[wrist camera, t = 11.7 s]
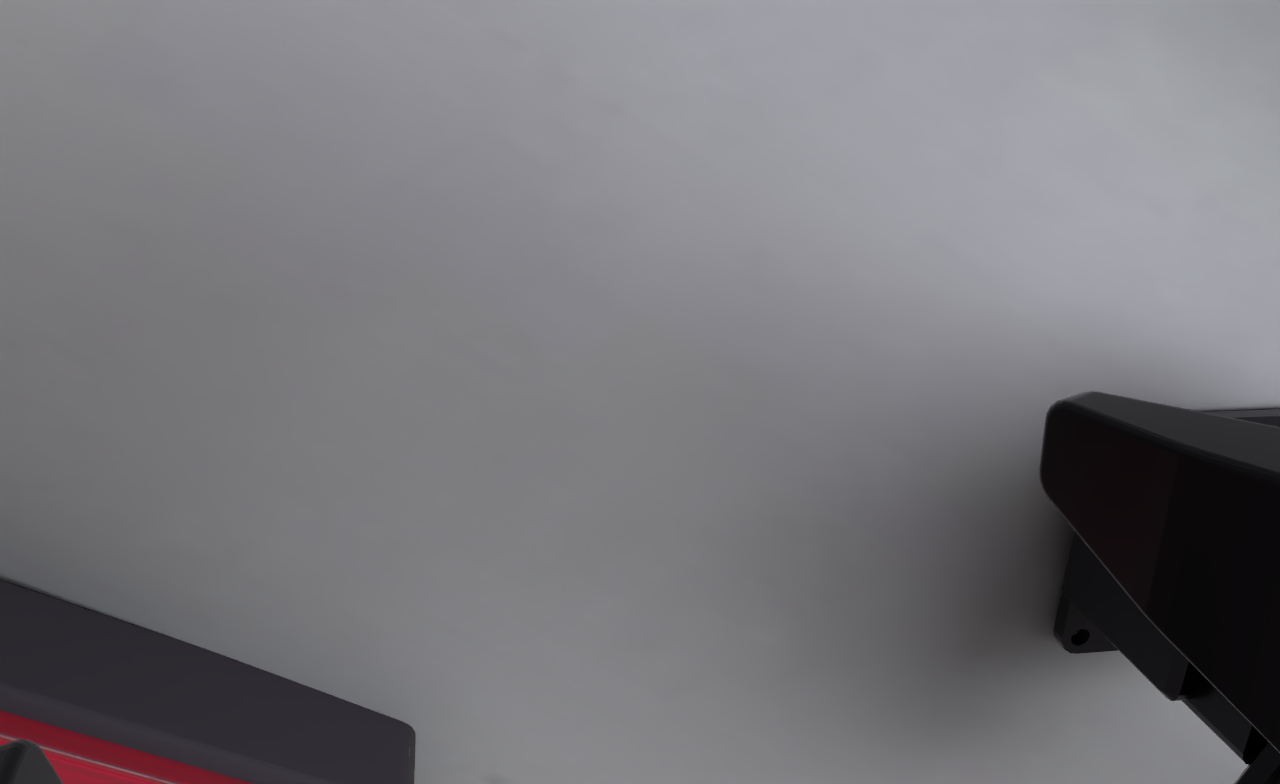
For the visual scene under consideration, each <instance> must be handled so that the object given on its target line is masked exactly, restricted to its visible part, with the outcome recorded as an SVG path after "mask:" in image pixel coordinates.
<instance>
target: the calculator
mask: <svg viewBox="0 0 1280 784" xmlns="http://www.w3.org/2000/svg"><path fill="white" fill-rule="evenodd" d="M20 739H25V740H31V741H33V742H34V743H36V744H37V745H38V746H39V747H40V748H41V749H42V751H43V752H44V754H45V755H46V757H47V758H48V760H49V762H50V763H51V765H52V766H53V768H54V770H55V771H56V773H57V774H58V776H59V777H60V779H61V781H62V782H63V784H414V769H415V732H414V730H413V728H412V727H411V726H409V725H408V724H406V723H404V722H402V721H399V720H397V719H394V718H391V717H388V716H386V715H383V714H380V713H378V712H375V711H372V710H370V709H367V708H364V707H362V706H359V705H356V704H353V703H351V702H348V701H345V700H343V699H340V698H337V697H335V696H332V695H329V694H326V693H324V692H321V691H318V690H316V689H313V688H310V687H308V686H305V685H302V684H299V683H297V682H294V681H291V680H289V679H286V678H283V677H280V676H278V675H275V674H272V673H270V672H267V671H264V670H261V669H259V668H256V667H253V666H251V665H248V664H245V663H242V662H240V661H237V660H234V659H231V658H229V657H226V656H223V655H220V654H217V653H215V652H212V651H209V650H206V649H203V648H200V647H197V646H194V645H192V644H189V643H186V642H183V641H180V640H177V639H174V638H171V637H168V636H165V635H162V634H159V633H156V632H153V631H150V630H147V629H144V628H141V627H138V626H135V625H132V624H129V623H126V622H123V621H120V620H117V619H114V618H111V617H108V616H105V615H102V614H99V613H96V612H93V611H90V610H87V609H84V608H81V607H78V606H75V605H72V604H69V603H66V602H64V601H61V600H58V599H55V598H52V597H49V596H46V595H43V594H40V593H37V592H34V591H31V590H28V589H25V588H22V587H19V586H16V585H13V584H10V583H7V582H4V581H1V580H0V745H3V744H6V743H10V742H13V741H16V740H20Z"/></svg>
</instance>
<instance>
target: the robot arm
mask: <svg viewBox="0 0 1280 784" xmlns="http://www.w3.org/2000/svg"><path fill="white" fill-rule="evenodd" d="M1039 476H1040V482H1041V485H1042V488H1043V490H1044V492H1045V494H1046V495H1047V497H1048V498H1049V499H1050V501H1051V502H1052V503H1053V504H1054V506H1055V507H1056V508H1057V509H1058V510H1059V512H1060V513H1061V514H1062V515H1063V517H1064V518H1065V519H1066V520H1067V522H1068V523H1069V524H1070V525H1071V526H1072V528H1073V529H1074V530H1075V532H1074V536H1073V541H1072V545H1071V550H1070V554H1069V559H1068V563H1067V568H1066V572H1065V577H1064V581H1063V586H1062V594H1061V598H1060V603H1059V607H1058V612H1057V616H1056V621H1055V626H1054V637H1055V639H1056V640H1057V642H1058V643H1059V644H1060V645H1061V646H1062V647H1063V648H1064V649H1065V650H1066V651H1068V652H1070V653H1089V652H1102V651H1115V650H1119V651H1120V652H1121V653H1122V654H1123V655H1124V656H1125V657H1126V658H1127V659H1128V660H1129V661H1130V662H1131V663H1132V664H1133V665H1134V666H1135V667H1136V668H1137V669H1138V670H1139V671H1140V672H1141V673H1142V674H1143V675H1144V676H1145V677H1146V678H1147V679H1148V680H1149V681H1150V682H1151V683H1152V684H1153V685H1154V686H1155V687H1156V688H1157V689H1158V690H1159V691H1160V692H1161V693H1162V694H1163V695H1164V696H1165V697H1166V698H1168V699H1169V700H1171V701H1176V700H1182V701H1183V702H1184V703H1185V704H1186V705H1187V706H1188V707H1189V708H1190V709H1191V710H1192V711H1193V712H1194V713H1195V714H1196V715H1197V716H1198V717H1199V718H1200V719H1201V720H1202V721H1203V722H1204V723H1205V724H1206V725H1207V726H1208V727H1209V728H1210V729H1211V730H1212V731H1213V732H1214V733H1215V734H1216V735H1217V736H1218V737H1219V738H1220V739H1221V740H1222V741H1223V742H1224V743H1225V744H1226V745H1227V746H1229V747H1230V748H1231V749H1232V750H1233V751H1234V752H1235V753H1236V754H1237V755H1238V756H1239V757H1240V758H1241V759H1242V760H1243V761H1244V762H1245V763H1246V764H1249V765H1248V767H1247V768H1246V769H1245V771H1244V772H1243V773H1242V774H1241V776H1240V777H1239V778H1238V780H1237V781H1236V782H1235V783H1234V784H1280V409H1269V410H1241V411H1214V412H1198V411H1193V410H1188V409H1183V408H1178V407H1173V406H1167V405H1162V404H1157V403H1152V402H1147V401H1142V400H1137V399H1132V398H1126V397H1121V396H1116V395H1111V394H1106V393H1101V392H1094V391H1091V392H1084V393H1080V394H1077V395H1074V396H1071V397H1068V398H1065V399H1062V400H1059V401H1057V402H1055V403H1054V404H1053V405H1051V407H1050V409H1049V410H1048V412H1047V415H1046V420H1045V427H1044V435H1043V443H1042V451H1041V459H1040V467H1039ZM1077 630H1079V631H1078V632H1077V633H1076V634H1075V635H1073V633H1075V632H1076V631H1077ZM0 784H63V782H62V781H61V779H60V777H59V776H58V774H57V773H56V771H55V770H54V768H53V766H52V765H51V763H50V762H49V760H48V758H47V757H46V755H45V754H44V752H43V751H42V749H41V748H40V747H39V746H38V745H37V744H36V743H34V742H33V741H31V740H25V739H20V740H16V741H13V742H10V743H6V744H3V745H0Z"/></svg>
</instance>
